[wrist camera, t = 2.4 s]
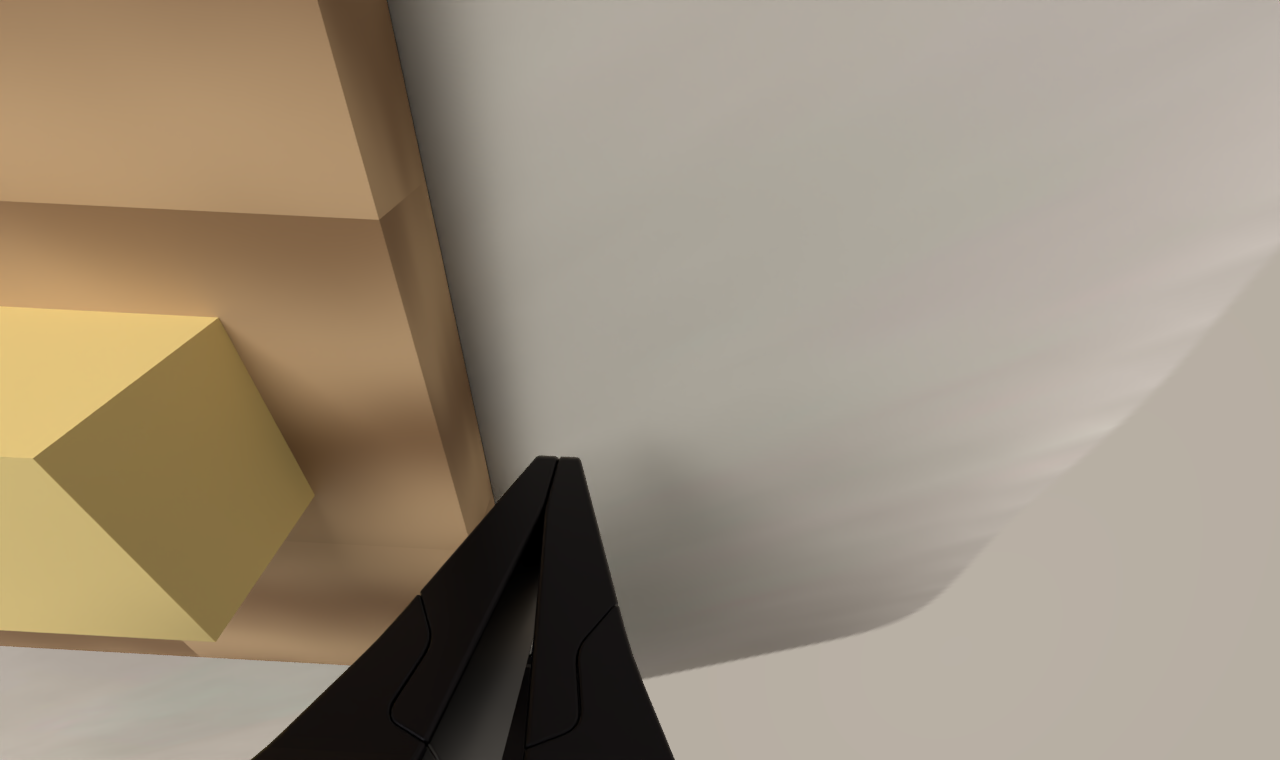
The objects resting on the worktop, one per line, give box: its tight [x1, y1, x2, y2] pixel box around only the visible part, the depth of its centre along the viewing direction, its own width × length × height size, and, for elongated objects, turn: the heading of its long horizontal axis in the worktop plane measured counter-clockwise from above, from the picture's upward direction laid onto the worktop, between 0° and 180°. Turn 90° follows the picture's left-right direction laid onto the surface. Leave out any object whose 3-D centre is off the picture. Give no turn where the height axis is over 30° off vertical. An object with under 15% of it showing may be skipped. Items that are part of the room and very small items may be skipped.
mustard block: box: [0, 306, 315, 642], centre depth 10 cm, size 5×5×4 cm
